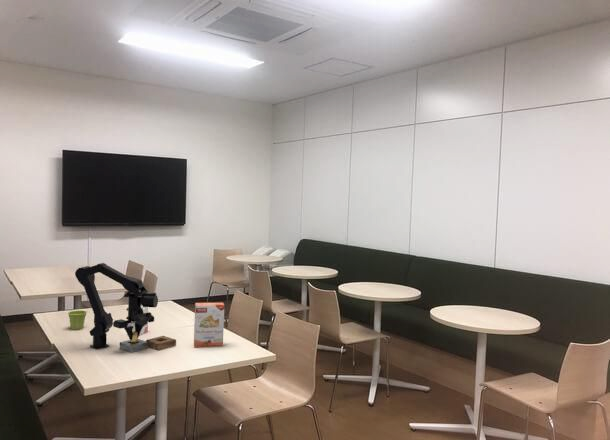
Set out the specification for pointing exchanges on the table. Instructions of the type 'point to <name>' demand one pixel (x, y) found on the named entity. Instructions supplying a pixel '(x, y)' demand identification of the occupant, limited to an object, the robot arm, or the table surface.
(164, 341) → the brown square frame
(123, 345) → the socket block
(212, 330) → the cracker box
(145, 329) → the ink cartridge box
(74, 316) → the plant pot
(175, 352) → the table surface
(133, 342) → the brass peg
